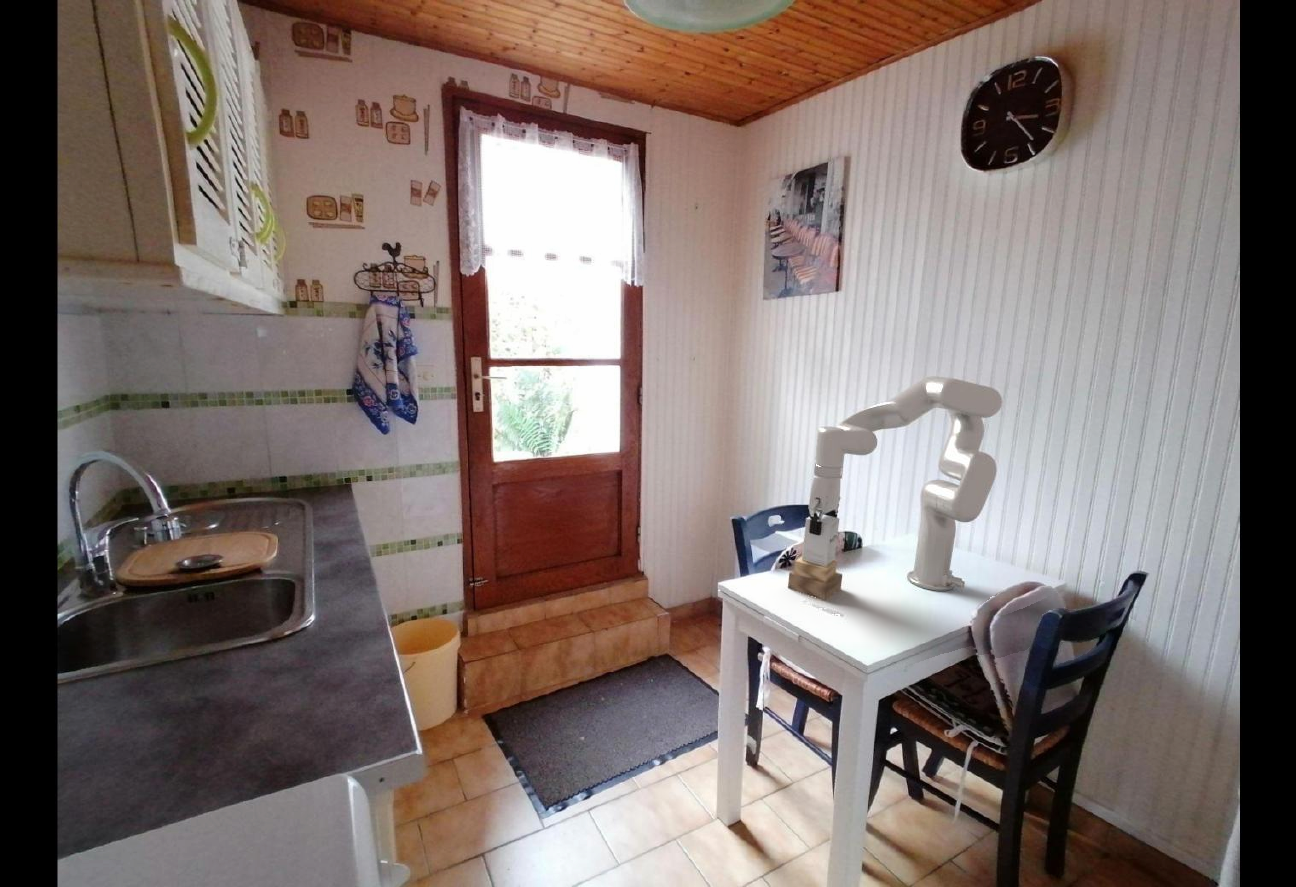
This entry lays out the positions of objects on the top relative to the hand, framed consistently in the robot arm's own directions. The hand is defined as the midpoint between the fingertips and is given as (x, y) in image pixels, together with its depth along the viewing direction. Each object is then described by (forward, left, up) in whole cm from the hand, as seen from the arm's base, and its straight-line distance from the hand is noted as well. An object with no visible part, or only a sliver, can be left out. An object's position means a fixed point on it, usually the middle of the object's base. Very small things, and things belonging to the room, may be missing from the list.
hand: (822, 530), depth 158 cm
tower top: (0, +1, -13) cm, 13 cm away
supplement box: (0, +1, -9) cm, 9 cm away
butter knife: (-1, +11, -18) cm, 21 cm away
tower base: (0, +1, -18) cm, 18 cm away
